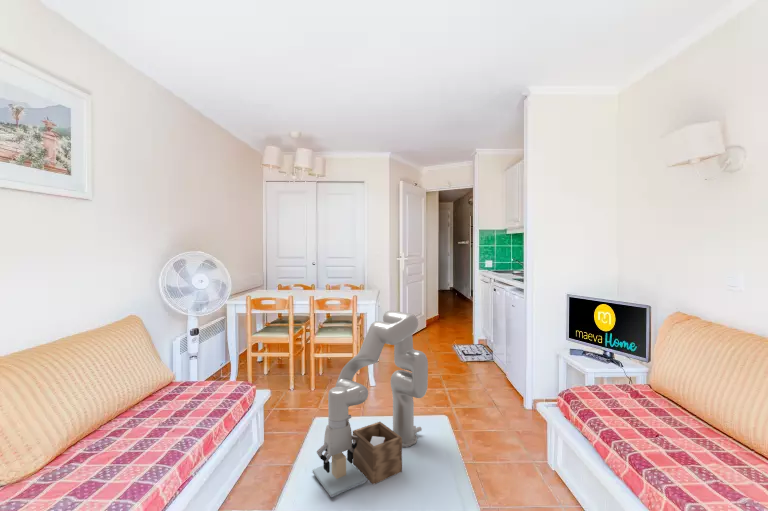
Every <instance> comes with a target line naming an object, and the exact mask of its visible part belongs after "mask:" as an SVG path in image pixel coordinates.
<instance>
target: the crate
mask: <svg viewBox="0 0 768 511" xmlns="http://www.w3.org/2000/svg"><path fill="white" fill-rule="evenodd" d="M352 435H353V436H357V437H358V438H359V441H358V443H357V446H356V448H355V449H354V450H355V451H354V452H353V463H352V464H353V465H354V466H355V467H356V468H357V469H358V470H359V472H360V473H361V474H362V475H363V476H364V477H365V478H366V480H368V481H369V482H370V483H371V484H372V485H373V486H374V485H375V484H378V483H380V482H383V481H385V480H386V479H389V478H391V477H393V476H396V475H397V474H400V473H402V472H403V447H402V437H400V436H399V435H398V434H396V433H395V432H394V431H393V429H391V428H390V427H388V426H387V425H385V423H383V422H381V421H377V422H374V423H372V424H368V425H365V426H363V427H360V428H357V429H354V430H352ZM372 436H376V437H385V442H384V443H381V444H379V445H376V446H373V445H372V444H371V443H370V441H371V439H372ZM353 442H354V440H352V443H353Z"/></svg>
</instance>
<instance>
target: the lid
mask: <svg viewBox="0 0 768 511" xmlns="http://www.w3.org/2000/svg"><path fill="white" fill-rule="evenodd" d="M311 471H312V474H313V475H314V476H315V477H316V479H317V481H318V482H319V484H321V486H322V487H323V488H324V490H325V492H327V494H328V495H329V496H330V497H331V498H333V497H336V496H337V495H339V494H342V493H343V492H347V491H348V490H351V489H353V488H356V487H357V486H360V485H361V484H363V483H366V482H367V478H366V477H365V476H364V475H363V474H362V473H361V472H360V471H359V469H358V468H357V467H356V466H355V465H354V464H353V463H350V462H349V461H348V460H347V455H345V454H344V452H341V453H338V454H336V455H333V456H331V462H330V472H329V473H327V471H326V470H324V464H323V465H321V466H319V467H316V468H314V469H313V468H312V470H311Z"/></svg>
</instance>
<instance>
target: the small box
mask: <svg viewBox="0 0 768 511" xmlns="http://www.w3.org/2000/svg"><path fill="white" fill-rule="evenodd" d="M384 442H385V437H376V436H372V439H371V441H370V443H371V444H372V445H373V446H376V445H379V444H381V443H384Z"/></svg>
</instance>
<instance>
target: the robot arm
mask: <svg viewBox="0 0 768 511" xmlns="http://www.w3.org/2000/svg"><path fill="white" fill-rule="evenodd" d="M418 327H419V319H418V318H417V316H416V315H414V314H412V313H408V312H402V311H398V310H388V311H385V312H384V313H383V316H382V320H380V321H379V320H377V321H374V322H372V323H371V324H370V326H369V327H368V330H367V333H366V335H365V336H364V340H363V342H362V344H361V347H360V349H359V351H358V352H357V354H355V356H353V358H351V359H350V360H349V361H347V363H345V365H344V366H343V367H342V369H341V371H340V373H339V375H338V378H337V381H336V383H335V386H334V387H332V388H330V389H329V391H328V392H327V393H328V397H327V398H328V399H327V400H328V402H327V406H328V408H327V409H328V410H327V411H328V417H327V419H328V424H327V425H326V426H325V430H324V439H323V445H322V446H321V447H320V448H318V449H317V451H316V454H317V455H318V457H319V459H320V460H321V461H323V465H324V470H326V471H327V473H329V472H330V463H331V462H330V461H329V460H330V459H331V458H332V456H333V455H336V454H338V453H341V452H342V453H344V452H346V458H347V460H348V461H349V462H350V463H352V464H353V452H354V451H355V450H354V449H355V448H356V446H357V443H358V441H359V438H358V437H357V436H353V431H352V427H351V423H350V419H352V415H351V414H349V407H353V406H359V405H361V404H363V403H364V402H366V400H367V399H368V396H369V391H368V387H366V386H365V385H364V384H361V383H359V382H356V381H354V377H355V375H356V374H357V373H358V372H359V370H361V369H363V368H365V367H367V366H370V365H374V364H375V365H376V363H378V361H379V358H380V356H381V353H382V351H383V349H384V346H385V344H386V345H390V346H391V345H392V346H394V347H393V349H394V351H393V354H394V356H393V357H394V358H393V360H394V361H393V362H394V364H395V365H394V366H396V367H397V368H399V369H398V370H395V371H394V372H393V373H392V374H391V376H390V388H391V391H392V392H391V393H392V431H394V432H395V433H396V434H398V435H399V436H400V437H402V448H409V447H411V446H414V445H415V444H416V443H417V441H418V436H417V435H416V434H417V433H419V432H422V430H423V428H422V427H421V426H416V425H415V424H414V418H415V417H414V416H415V414H414V410H415V409H414V407H415V406H414V404H415V402H414V398H416V399H422V398H423V397H425V395H426V393H427V390H428V384H429V383H428V382H429V380H428V379H429V378H428V376H429V362H428V361H429V360H428V357H427V355H426V353H424V352H423V351H421V350H417V349H414V340H413V334H414V333H415V332H416V330H417V329H418ZM353 440H354V442H353ZM323 453H324V454H323Z"/></svg>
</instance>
